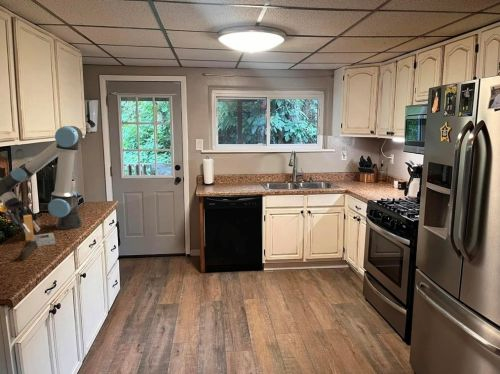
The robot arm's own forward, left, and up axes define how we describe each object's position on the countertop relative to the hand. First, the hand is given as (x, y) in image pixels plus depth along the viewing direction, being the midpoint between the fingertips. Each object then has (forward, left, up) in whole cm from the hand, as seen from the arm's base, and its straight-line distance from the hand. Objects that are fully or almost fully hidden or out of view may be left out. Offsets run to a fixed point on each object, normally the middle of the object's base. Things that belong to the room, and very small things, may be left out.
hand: (33, 231), depth 214 cm
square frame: (-4, +8, -5) cm, 10 cm away
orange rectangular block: (+2, -3, -5) cm, 6 cm away
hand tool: (+4, +25, -5) cm, 26 cm away
